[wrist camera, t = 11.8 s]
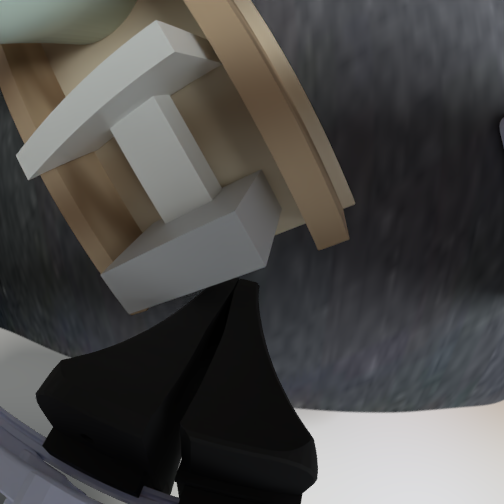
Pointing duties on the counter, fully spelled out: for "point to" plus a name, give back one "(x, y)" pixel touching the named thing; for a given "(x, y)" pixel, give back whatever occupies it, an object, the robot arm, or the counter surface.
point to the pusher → (161, 170)
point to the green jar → (61, 20)
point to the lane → (197, 120)
